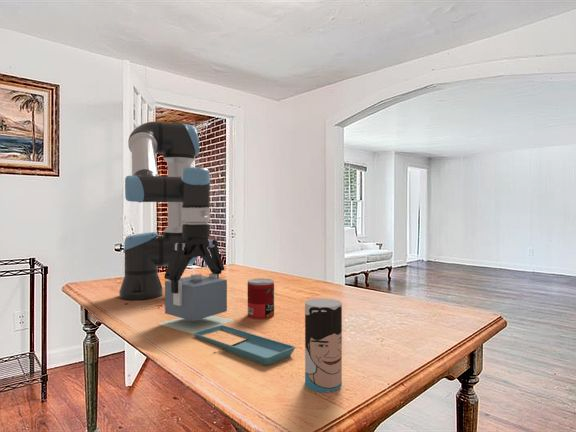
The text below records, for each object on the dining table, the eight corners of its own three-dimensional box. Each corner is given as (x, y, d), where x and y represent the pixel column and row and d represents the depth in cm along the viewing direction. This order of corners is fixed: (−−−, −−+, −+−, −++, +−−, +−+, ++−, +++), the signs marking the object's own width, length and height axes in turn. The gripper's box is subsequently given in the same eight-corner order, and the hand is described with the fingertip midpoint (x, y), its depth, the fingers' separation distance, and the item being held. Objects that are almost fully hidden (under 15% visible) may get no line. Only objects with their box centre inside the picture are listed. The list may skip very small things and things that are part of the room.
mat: (157, 325, 108) (157, 323, 108) (199, 314, 120) (199, 312, 120) (193, 336, 99) (193, 333, 99) (234, 322, 111) (234, 320, 111)
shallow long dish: (192, 341, 96) (192, 331, 96) (222, 332, 103) (222, 323, 103) (266, 370, 79) (266, 358, 79) (296, 357, 86) (296, 346, 85)
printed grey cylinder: (307, 392, 68) (307, 307, 68) (303, 376, 75) (303, 298, 75) (345, 391, 69) (345, 306, 68) (338, 375, 75) (338, 298, 75)
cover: (164, 313, 108) (164, 275, 108) (198, 304, 118) (198, 269, 118) (193, 321, 101) (193, 281, 101) (226, 311, 111) (226, 274, 110)
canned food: (270, 321, 112) (270, 283, 111) (244, 320, 113) (244, 282, 113) (276, 314, 119) (276, 278, 119) (251, 313, 121) (251, 277, 120)
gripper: (167, 225, 97) (168, 311, 97) (236, 222, 116) (236, 294, 117) (149, 224, 101) (150, 307, 102) (218, 221, 121) (218, 290, 121)
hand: (196, 300), depth 109 cm, fingers closed on cover, 12 cm apart
